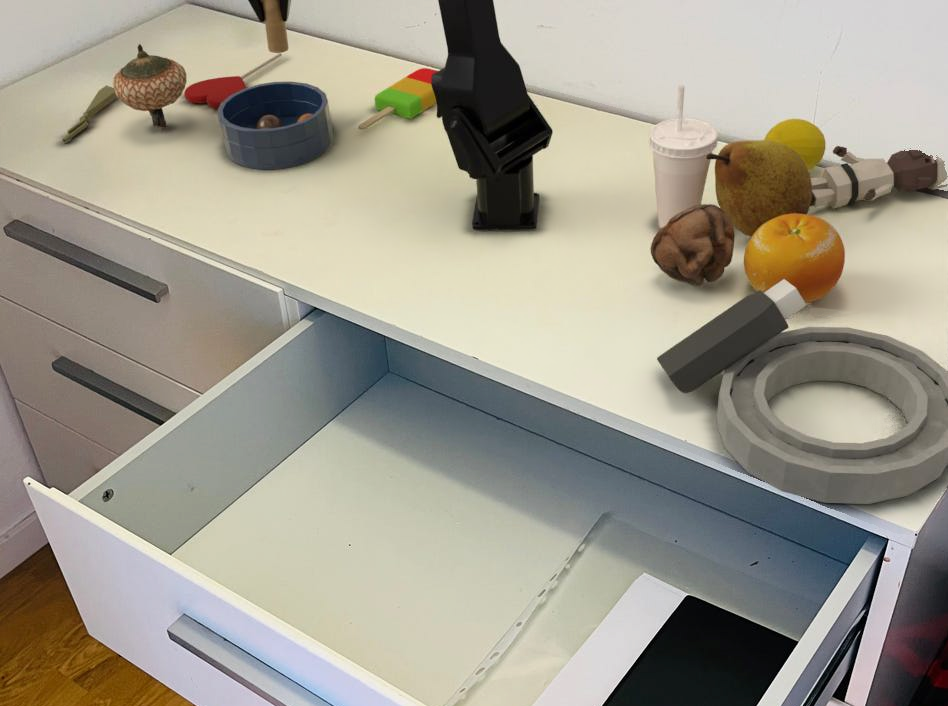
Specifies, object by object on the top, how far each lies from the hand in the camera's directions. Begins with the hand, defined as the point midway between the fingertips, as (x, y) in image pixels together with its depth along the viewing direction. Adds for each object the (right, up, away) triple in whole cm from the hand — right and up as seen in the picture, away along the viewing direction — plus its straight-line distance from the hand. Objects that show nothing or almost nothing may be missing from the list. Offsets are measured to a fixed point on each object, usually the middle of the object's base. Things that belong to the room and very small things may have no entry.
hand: (274, 20), depth 126 cm
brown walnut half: (+43, -31, -21) cm, 57 cm away
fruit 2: (+52, -24, -12) cm, 58 cm away
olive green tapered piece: (-25, -6, +15) cm, 30 cm away
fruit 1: (+51, -16, -7) cm, 53 cm away
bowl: (-1, -11, +8) cm, 13 cm away
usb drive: (+42, -37, -31) cm, 64 cm away
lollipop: (-7, +1, +20) cm, 21 cm away
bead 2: (+3, -10, +5) cm, 12 cm away
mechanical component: (+50, -46, -32) cm, 75 cm away
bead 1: (-2, -10, +6) cm, 11 cm away
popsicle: (+13, -6, +12) cm, 19 cm away
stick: (0, -2, +2) cm, 3 cm away
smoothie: (+42, -24, -10) cm, 49 cm away
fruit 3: (+50, -33, -19) cm, 63 cm away
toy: (+54, -22, -9) cm, 58 cm away
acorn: (-15, -8, +12) cm, 21 cm away
